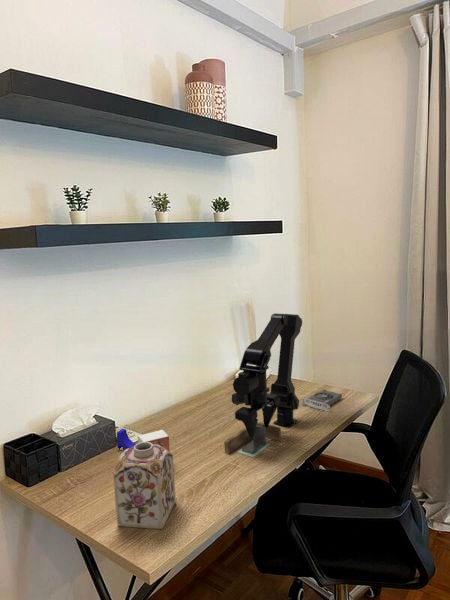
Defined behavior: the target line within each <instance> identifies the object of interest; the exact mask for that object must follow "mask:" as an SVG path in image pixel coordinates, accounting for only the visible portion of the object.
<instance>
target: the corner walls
mask: <svg viewBox="0 0 450 600" xmlns="http://www.w3.org/2000/svg"><path fill="white" fill-rule="evenodd" d="M257 425H261V426H264V422H263V423H262V422H258V421H257ZM281 429H282V428H281V427H279V426H275V425H271V424H269V426H268V427H266V438H267V439H268V438H269V439H273V440H276V441H281V440H282V431H281ZM251 439H252V438H250V437H249V435H248V432H247V429H246V427H245V426H244V427H243V428H242V429H241V430H239V431H238V432H236V433H235V434H233V435H232V436H230V437H229V438H227V439H225V440H224V454H226V455H229V454H230V453H232V452H233V451H235V450H237V448H239V447H241V446H242V445H244V444H245V443H246V442H248V441H250V440H251Z"/></svg>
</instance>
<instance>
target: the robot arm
mask: <svg viewBox="0 0 450 600" xmlns="http://www.w3.org/2000/svg"><path fill="white" fill-rule="evenodd" d="M302 326H303V319H302V318H301V317H300V315H299V314H293V313H292V314H291V313H273V314H271V316H270V320H269V321H268V323H267V325H266V326H265V328H264V329H263V331H262V332H261V334H260V336H259V338H258V339H257V340H255V341H252V342H251V343H250V344H249V345H248V346H247V347H246V349H245V350H244V353H243V355H242V359H241V363H240V366H239V371H240V372H238V374H237V376H238V377H236V378H234V380H233V382H232V388H233V390H234V393H232V394H231V403H232V404H233V405H235V406H239V405H242V404H244V406H242V407H240V408H238V409H237V410H236V411H235V412H234V419H235V420H238V421H239V422H242V423H243V425H244V428H245V427H246V429H247V432H248V435H249V437H250V438H251V439H253V436H254V433H255V429H256V425H257V422H258V421H259V419H258V412H259V411H261V410H262V418H263V424H264V426H265V427H268V426H269V425H271V424H270V423H271V421H272V419H273V417H274V415H275V413H276V420H275V421H274V422H273V424H274V425H277V426H281V427H285V428H291V427H292V426H294V425H295V424H296V423H297V422H298V419H295V418H294V411H295V410H298V409H299V405H300V399H299V398H298V397H297V395H296V394H295V393H296V388H295V386H294V383H293V381H292V372H293V363H294V361H293V360H294V351H295V343H296V342H295V341H296V339H297V338H298V336H299V335H300V333H301V329H302V328H301V327H302ZM279 336H280V345H279V357H278V358H279V359H278V366H277V367H278V369H277V379H276V380H275V381H274V382H272V383H271V386H270V388H269V387H267V386H268V385H267V383H268V382H267V370H269V369H270V368H269V362H270V360H271V357H272V352H271V349H272V347H273V345H274V344H275V342H276V340H277V338H278V337H279ZM247 406H250V407H247Z"/></svg>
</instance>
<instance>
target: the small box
mask: <svg viewBox="0 0 450 600" xmlns="http://www.w3.org/2000/svg"><path fill="white" fill-rule="evenodd" d="M141 442H150V443H152V444H156V445H160V446H162V447H164V448H165V449H167V450H168V451H169V452H170V436H169V435H168V434H167V433H166V432H165V431H164V429H160V430H156V431H153V432H152V431H151V432H148V433H143V434H138V435H137V444H138V443H141ZM170 453H171V452H170Z"/></svg>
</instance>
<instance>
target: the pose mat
mask: <svg viewBox="0 0 450 600" xmlns="http://www.w3.org/2000/svg"><path fill="white" fill-rule="evenodd" d="M270 446H271V445H270V443H267V442H266V445H264V446H263V447H262V448H260V449H259V450H258V451H256V452H255V453H254V454H250V453H246V452H243V451H242V448H241V449H239V450H238V451H236V454H238V455H239V454H240V455H243V456H246V457H248V458H249V457H250V458H252V459H254V458H255V457H256V456H258V455H260V453H261V452H263V451H264V450H265V449H267V448H268V447H270Z"/></svg>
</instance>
